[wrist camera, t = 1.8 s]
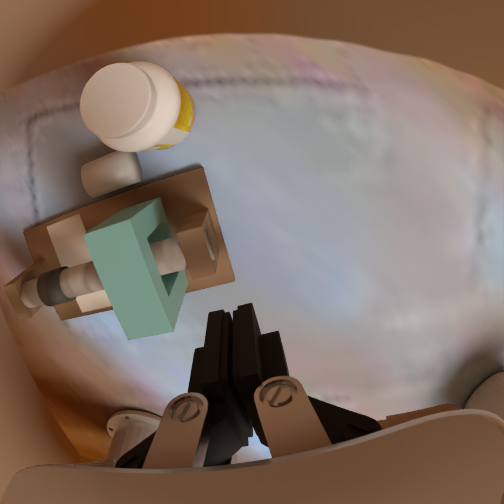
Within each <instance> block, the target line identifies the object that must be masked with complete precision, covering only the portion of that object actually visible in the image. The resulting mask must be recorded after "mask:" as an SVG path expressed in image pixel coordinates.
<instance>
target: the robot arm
mask: <svg viewBox="0 0 504 504" xmlns="http://www.w3.org/2000/svg"><path fill="white" fill-rule="evenodd" d="M253 428H254V430H255V433H256V435H257V436H258V437H259V439H260V442H261V444H263V445H265V446H267V447H269V450H270V453H271V456H272V458H270V459H265V460H258V461H252V462H245V463H237V454H236V452H237V451H238V450H239V449H240V448H241V447H243V446H248V437H252V436H253ZM107 431H108V433H109V435H110V437H111V438H112V442H111V445H110V448H109V451H108V454H107V457H106V460H103V461H96V462H89V463H81V464H73V465H68V464H43V465H35V466H31V467H27V468H25V469H22V470H20V471H18V472H17V473H16V474H15V475H14V476H13V477H12V478H11V480H10V482H9V483H8V485H7V487H6V489H5V491H4V493H3V495H2V497H1V500H0V504H504V421H503V420H502V419H501V418H500V417H498V416H497V415H495V414H493V413H491V412H489V411H486V410H481V409H461V408H459V407H458V406H456V405H452V404H444V405H439V406H435V407H430V408H426V409H421V410H417V411H412V412H407V413H402V414H396V415H390V416H386V419H385V420H379V421H376V420H375V419H372V418H370V417H368V416H365V415H362V414H358V413H355V412H352V411H349V410H346V409H343V408H340V407H337V406H335V405H332V404H329V403H326V402H323V401H321V400H318V399H315V398H312V397H310V396H307V394H306V392H305V390H304V388H303V386H302V384H301V383H300V382H299V381H298V380H297V379H295V378H293V377H290V376H289V372H288V367H287V363H286V358H285V354H284V350H283V346H282V342H281V338H280V334H279V331H275V332H271V333H267V334H262V335H261V332H260V328H259V325H258V322H257V318H256V315H255V311H254V308H253V305H252V303H248V304H244V305H240V306H238V310H235V311H233V320H232V317H231V314H230V312H226V313H225V312H224V310H223V309H222V310H218V311H214V312H209V314H208V321H207V329H206V336H205V343H204V347H201V348H196V349H195V352H194V357H193V363H192V369H191V375H190V382H189V388H188V393H184V394H181V395H179V396H177V397H175V398H174V399H172V400H171V401H170V402H169V403H168V405H167V407H166V408H165V411H164V413H163V416H162V418H161V417H158V416H156V415H153V414H150V413H147V412H143V411H136V410H124V411H119V412H116V413H114V414H113V415H111V416H110V418H109V420H108V423H107Z"/></svg>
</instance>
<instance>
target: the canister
mask: <svg viewBox="0 0 504 504" xmlns="http://www.w3.org/2000/svg"><path fill="white" fill-rule="evenodd" d="M464 409H481V410H486V411H489V412H491V413H493V414H495V415H497V416H498V417H500V418H501V419H502V420H503V421H504V372H498V373H496V374H494V375H492V376H491V377H489V378H488V379H487V380H485V381H484V382H483V383H482V384H481V385H480V386H479V387H478V388H477V389H476V390H475V391H474V392H473V394H472V395H471V396H470V398H469V399H468V401H467V403H466V405H465V408H464Z"/></svg>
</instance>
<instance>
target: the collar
mask: <svg viewBox="0 0 504 504" xmlns="http://www.w3.org/2000/svg"><path fill="white" fill-rule="evenodd" d="M83 237H84V240H85V243H86V245H87V248H88V250H89V253H90V256H91V258H92V261H93V263H94V266H95V268H96V271H97V273H98V276H99V278H100V280H101V283H102V285H103V287H104V290H105V292H106V294H107V296H108V299H109V301H110V303H111V305H112V307H113V309H114V312H115V314H116V316H117V318H118V320H119V322H120V324H121V326H122V328H123V330H124V332H125V334H126V336H127V338H128V340H131V339H137V338H142V337H148V336H153V335H159V334H164V333H169V332H173V331H174V328H175V324H176V321H177V317H178V314H179V311H180V308H181V304H182V301H183V298H184V295H185V291H186V288H187V285H188V280H187V277H186V274H185V271H184V270H181V271H177V272H173V273H169V274H165V275H161V276H160V273H159V270H158V268H157V265H156V262H155V259H154V257H153V254H152V251H151V248H150V245H149V244H151V243H155V242H158V241H162V240H165V239H169V238H173V236H172V233H171V229H170V226H169V223H168V220H167V217H166V214H165V211H164V207H163V204H162V201H161V198H160V197H158V198H155V199H152V200H149V201H146V202H142V203H139V204H136V205H133V206H130V207H127V208H124V209H122V210H121V211H119V212H117V213H116V214H114V215H113V216H111V217H109V218H108V219H106V220H105V221H103V222H102V223H100V224H99V225H97V226H95V227H94V228H92V229H91V230H89V231H88V232H86V233H85V234H83Z"/></svg>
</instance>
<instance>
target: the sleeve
mask: <svg viewBox="0 0 504 504" xmlns="http://www.w3.org/2000/svg"><path fill="white" fill-rule="evenodd" d="M141 178H142V171H141V166H140V162H139V159H138V156H137V154H136V152H122V151H118V150H117V151H115V152H112V153H110V154H107V155H105V156H102V157H100V158H97V159H95V160H93V161H90V162H88V163H86V164H84V165H83V166H82V168H81V180H82V184H83V187H84V189H85V191H86V192H87V194H88V195H89V196H90V197H92V198H96V197H99V196H101V195H104V194H107V193H109V192H112V191H115V190H118V189H120V188H123V187H126V186H129V185H132V184H135V183H138V182H140V181H141Z"/></svg>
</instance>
